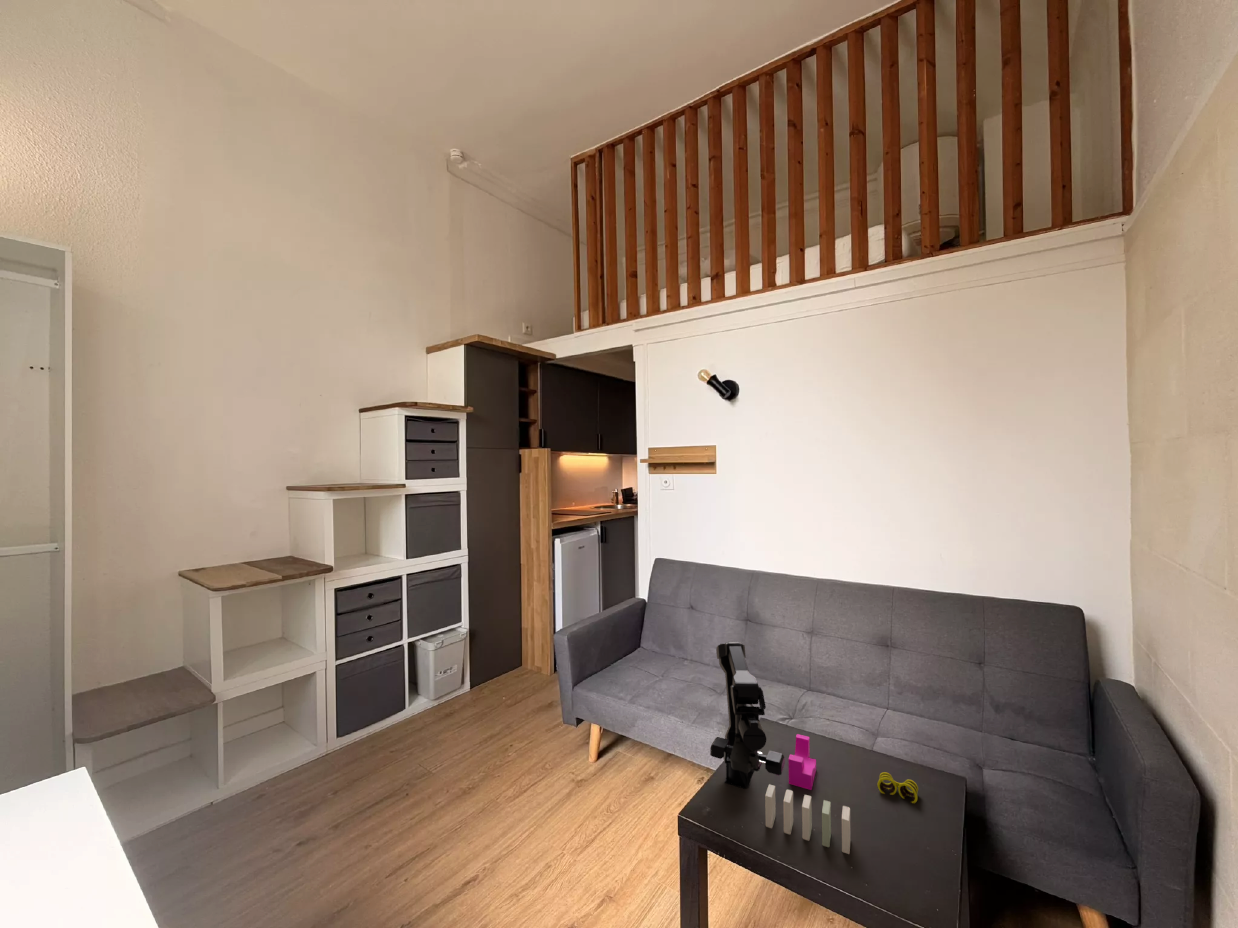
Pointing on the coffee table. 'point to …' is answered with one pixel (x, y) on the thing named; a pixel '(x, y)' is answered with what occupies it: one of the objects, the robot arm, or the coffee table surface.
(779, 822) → the coffee table surface
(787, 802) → the domino
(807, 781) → the toy block
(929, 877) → the coffee table surface
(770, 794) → the domino
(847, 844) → the domino
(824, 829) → the pale green domino
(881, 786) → the opera glasses
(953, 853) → the coffee table surface
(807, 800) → the domino
